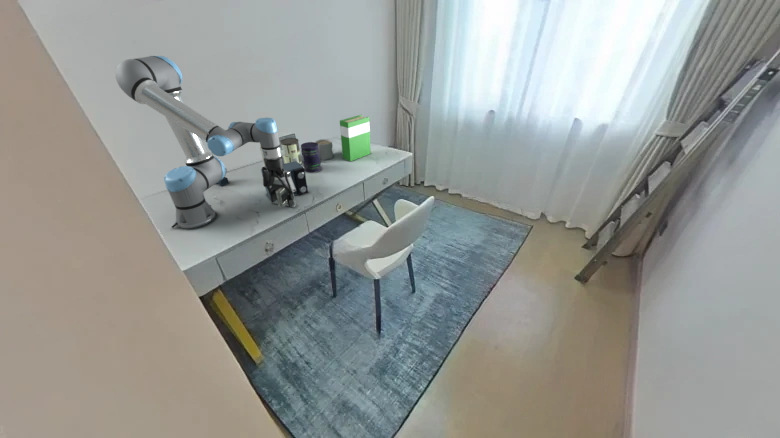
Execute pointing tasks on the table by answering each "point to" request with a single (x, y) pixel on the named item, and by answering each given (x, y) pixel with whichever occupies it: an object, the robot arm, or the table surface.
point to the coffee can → (291, 150)
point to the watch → (224, 180)
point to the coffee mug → (325, 149)
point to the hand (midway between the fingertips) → (282, 203)
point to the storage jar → (311, 157)
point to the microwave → (295, 177)
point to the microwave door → (281, 194)
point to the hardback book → (355, 137)
